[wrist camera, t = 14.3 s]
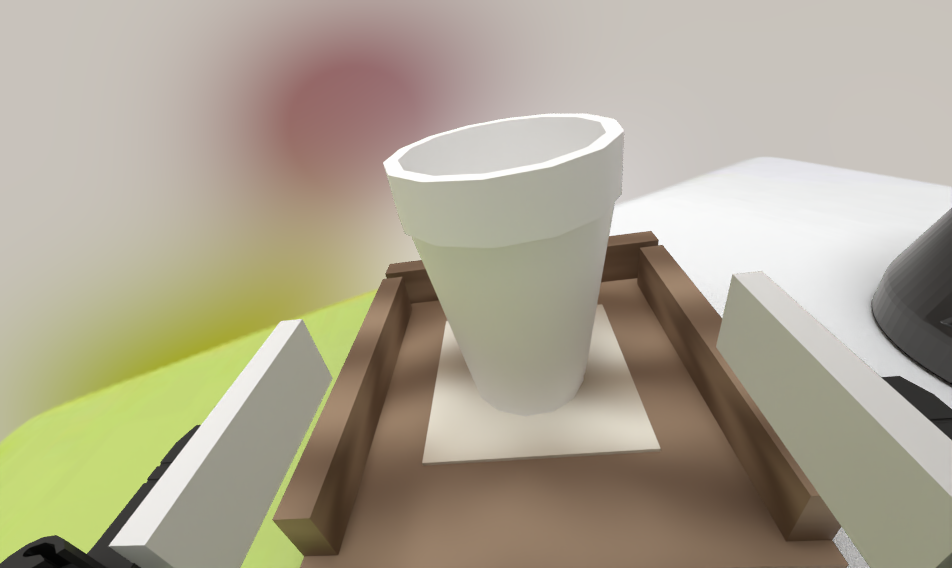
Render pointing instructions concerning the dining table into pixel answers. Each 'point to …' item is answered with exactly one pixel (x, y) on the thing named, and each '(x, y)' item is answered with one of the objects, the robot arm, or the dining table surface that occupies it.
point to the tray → (553, 447)
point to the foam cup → (515, 245)
